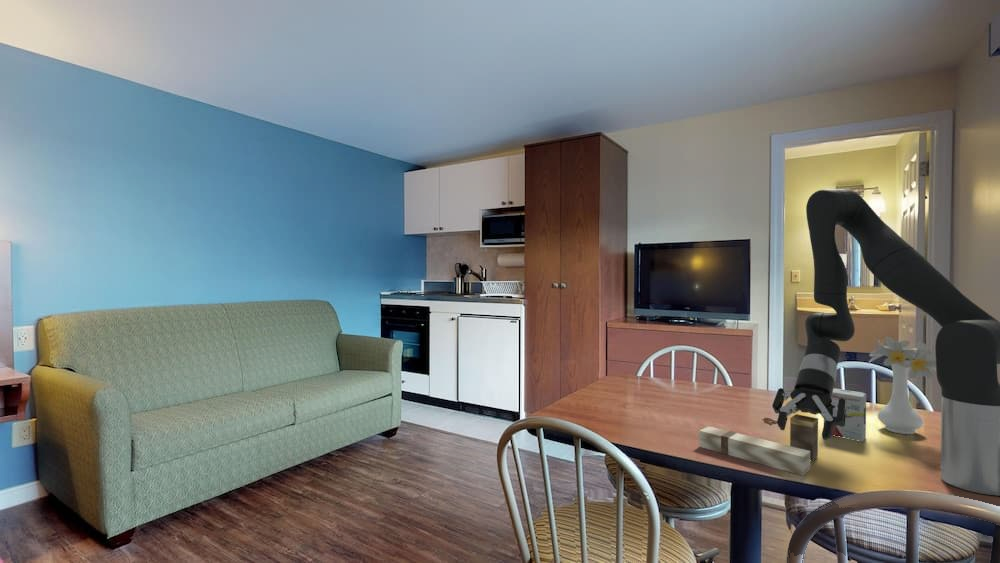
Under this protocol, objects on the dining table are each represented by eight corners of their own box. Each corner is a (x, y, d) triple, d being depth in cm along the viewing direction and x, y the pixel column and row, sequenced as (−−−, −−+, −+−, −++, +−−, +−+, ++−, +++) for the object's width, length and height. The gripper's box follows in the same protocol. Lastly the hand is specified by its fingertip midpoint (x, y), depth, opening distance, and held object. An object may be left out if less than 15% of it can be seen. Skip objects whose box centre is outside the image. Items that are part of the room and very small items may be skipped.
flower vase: (904, 443, 114) (905, 344, 114) (854, 420, 133) (855, 335, 132) (960, 445, 113) (961, 345, 113) (902, 421, 131) (902, 335, 131)
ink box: (822, 434, 121) (822, 390, 121) (826, 429, 124) (826, 387, 124) (863, 442, 115) (863, 396, 115) (866, 437, 118) (866, 392, 118)
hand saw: (715, 403, 152) (715, 401, 152) (727, 403, 152) (727, 401, 152) (769, 426, 128) (769, 424, 128) (783, 425, 129) (784, 423, 129)
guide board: (810, 469, 98) (810, 450, 98) (803, 476, 95) (803, 456, 95) (708, 441, 115) (708, 425, 115) (699, 446, 111) (699, 430, 111)
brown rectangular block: (817, 457, 105) (818, 418, 105) (812, 462, 102) (812, 422, 102) (795, 451, 109) (796, 414, 109) (790, 456, 106) (790, 417, 106)
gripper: (780, 363, 116) (764, 416, 108) (849, 372, 105) (837, 432, 98) (787, 380, 119) (771, 433, 112) (854, 391, 109) (842, 450, 101)
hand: (802, 433), depth 105 cm, fingers open, 8 cm apart
